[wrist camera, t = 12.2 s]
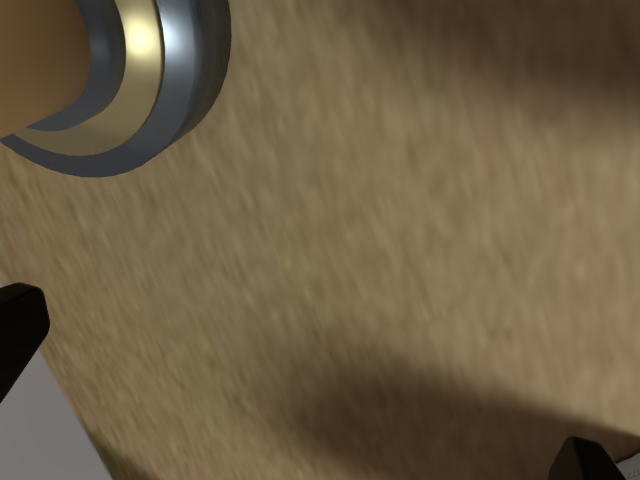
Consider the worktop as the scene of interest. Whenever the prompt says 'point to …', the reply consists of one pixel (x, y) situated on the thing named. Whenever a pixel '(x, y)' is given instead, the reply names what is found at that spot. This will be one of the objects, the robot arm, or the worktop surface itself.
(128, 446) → the worktop surface
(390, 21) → the worktop surface
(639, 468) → the skincare box
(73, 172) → the grey round disc
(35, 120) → the tan rounded stopper
